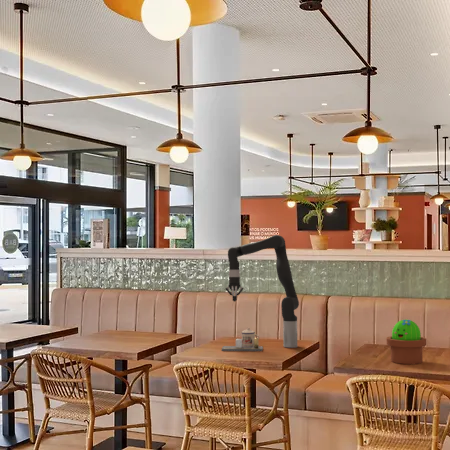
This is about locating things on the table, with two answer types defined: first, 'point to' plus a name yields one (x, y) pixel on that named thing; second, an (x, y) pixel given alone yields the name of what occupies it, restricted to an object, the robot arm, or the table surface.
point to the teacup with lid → (248, 337)
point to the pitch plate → (244, 347)
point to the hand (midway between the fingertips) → (234, 301)
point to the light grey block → (238, 343)
